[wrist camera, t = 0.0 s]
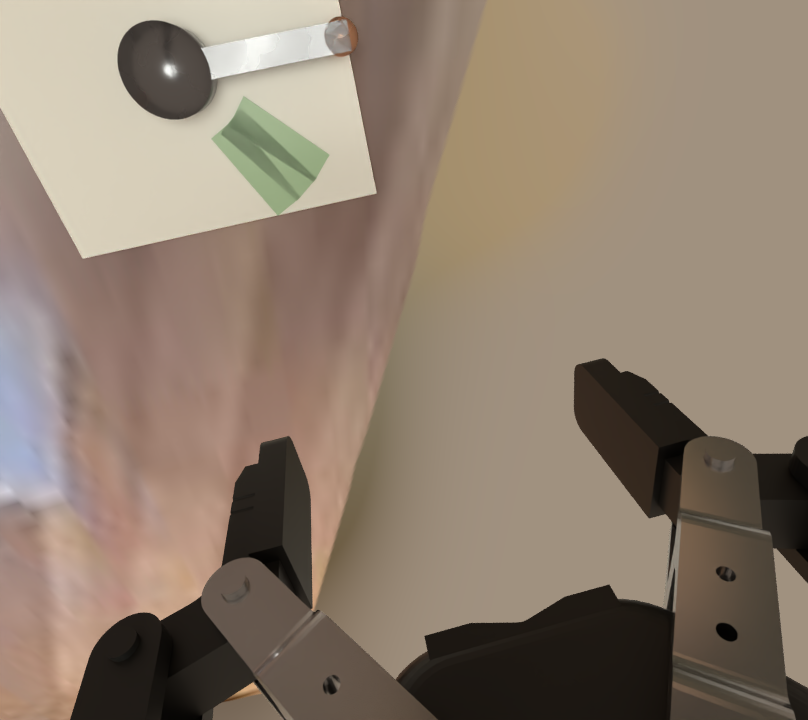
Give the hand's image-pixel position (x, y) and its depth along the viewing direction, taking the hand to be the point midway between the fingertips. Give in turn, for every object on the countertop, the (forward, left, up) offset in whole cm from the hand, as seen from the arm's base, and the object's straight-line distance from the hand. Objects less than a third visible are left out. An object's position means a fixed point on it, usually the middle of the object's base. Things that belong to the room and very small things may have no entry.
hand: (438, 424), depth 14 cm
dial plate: (-10, -9, -29) cm, 32 cm away
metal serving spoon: (-10, -5, -27) cm, 30 cm away
